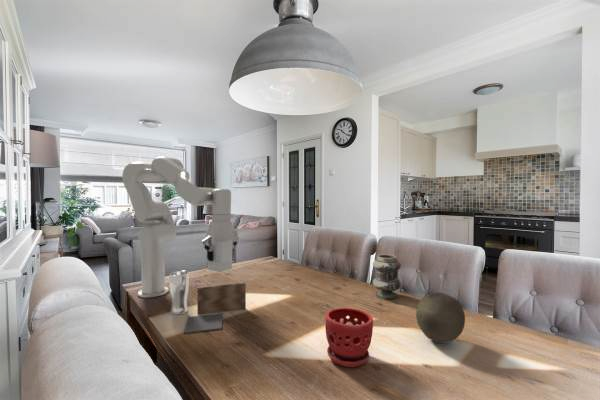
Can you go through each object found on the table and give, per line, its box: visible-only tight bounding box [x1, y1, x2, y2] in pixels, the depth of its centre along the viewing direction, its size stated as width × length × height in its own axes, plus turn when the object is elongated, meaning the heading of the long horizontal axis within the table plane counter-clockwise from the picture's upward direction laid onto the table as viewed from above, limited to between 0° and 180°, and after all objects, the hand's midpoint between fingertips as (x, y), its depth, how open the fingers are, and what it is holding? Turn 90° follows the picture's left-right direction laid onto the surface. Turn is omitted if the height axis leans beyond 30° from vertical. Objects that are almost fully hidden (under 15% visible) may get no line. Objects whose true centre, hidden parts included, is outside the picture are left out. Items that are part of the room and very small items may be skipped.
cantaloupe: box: [415, 292, 466, 344], centre depth 90 cm, size 14×14×15 cm
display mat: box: [183, 312, 223, 335], centre depth 103 cm, size 12×12×1 cm
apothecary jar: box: [372, 254, 402, 301], centre depth 131 cm, size 12×12×18 cm
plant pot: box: [324, 307, 374, 368], centre depth 82 cm, size 13×13×12 cm
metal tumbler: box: [168, 270, 190, 316], centre depth 113 cm, size 7×7×15 cm
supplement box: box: [207, 239, 234, 273], centre depth 123 cm, size 7×7×13 cm
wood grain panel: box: [196, 282, 247, 315], centre depth 113 cm, size 18×1×10 cm, turn 105°
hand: (220, 258), depth 123 cm, fingers closed on supplement box, 9 cm apart
